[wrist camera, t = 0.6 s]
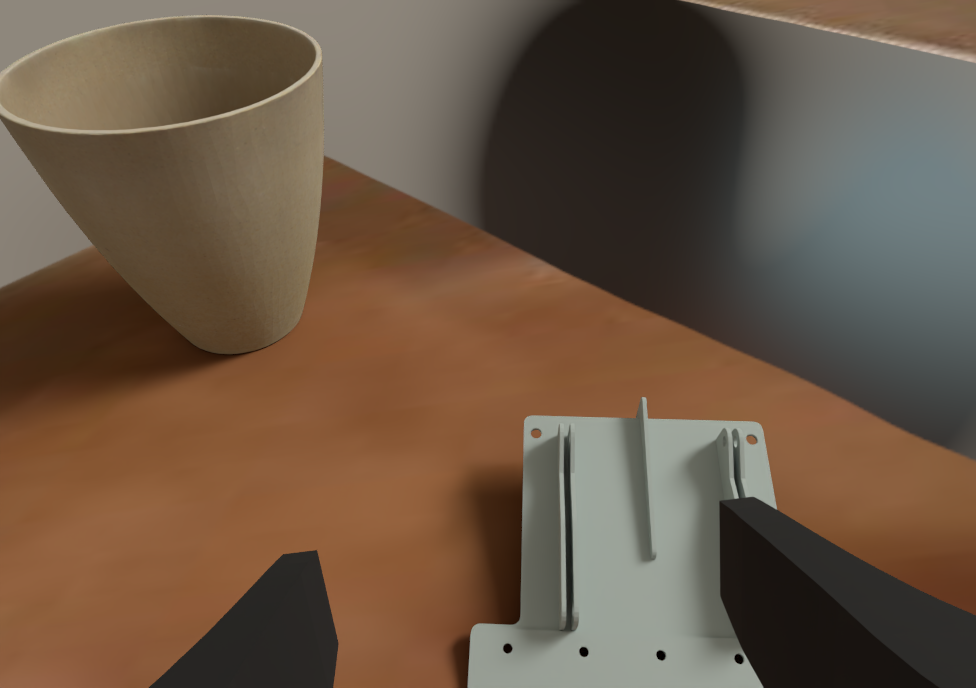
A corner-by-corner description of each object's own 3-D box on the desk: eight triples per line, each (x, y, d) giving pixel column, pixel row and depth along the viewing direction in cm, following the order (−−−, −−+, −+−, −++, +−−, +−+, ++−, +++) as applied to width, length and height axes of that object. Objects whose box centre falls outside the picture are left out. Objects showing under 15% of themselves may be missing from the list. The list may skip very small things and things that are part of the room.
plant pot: (176, 445, 36) (34, 169, 25) (91, 307, 44) (-42, 57, 33) (410, 324, 42) (379, 67, 32) (298, 225, 51) (243, -4, 40)
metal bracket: (481, 381, 31) (815, 389, 30) (486, 432, 36) (773, 440, 35) (461, 742, 24) (901, 765, 23) (470, 744, 29) (832, 763, 28)
